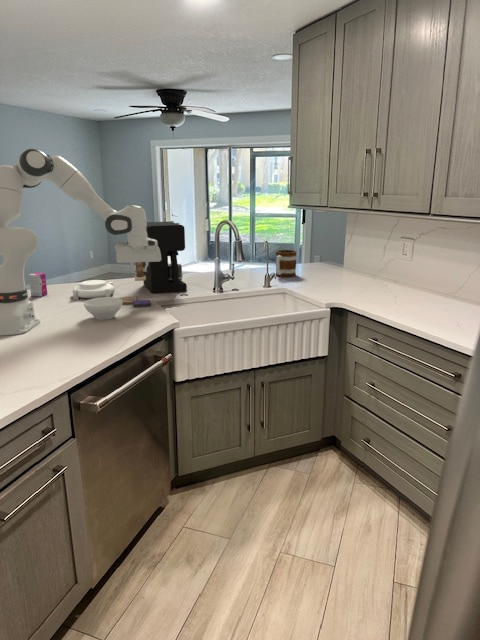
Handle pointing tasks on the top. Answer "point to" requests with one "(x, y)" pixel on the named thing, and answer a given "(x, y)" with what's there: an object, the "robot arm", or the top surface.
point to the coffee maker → (165, 258)
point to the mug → (286, 263)
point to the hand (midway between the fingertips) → (139, 271)
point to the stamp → (139, 272)
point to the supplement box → (38, 284)
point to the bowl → (103, 307)
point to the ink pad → (142, 303)
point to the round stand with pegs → (93, 289)
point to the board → (128, 300)
